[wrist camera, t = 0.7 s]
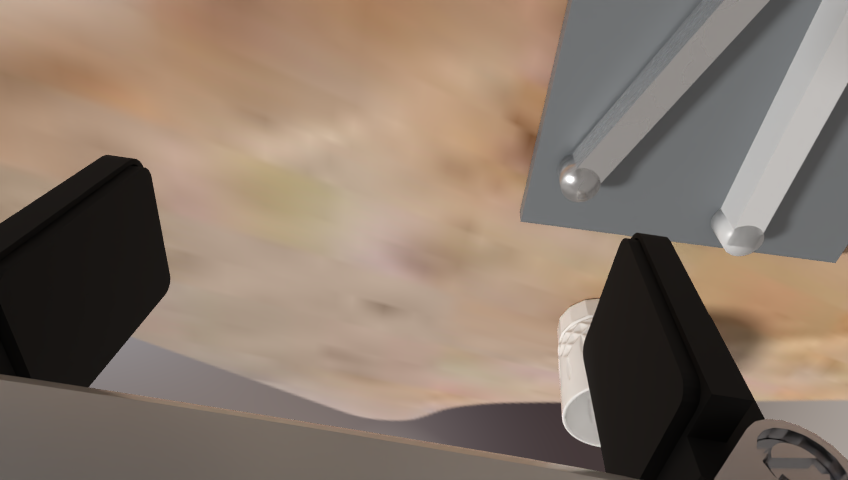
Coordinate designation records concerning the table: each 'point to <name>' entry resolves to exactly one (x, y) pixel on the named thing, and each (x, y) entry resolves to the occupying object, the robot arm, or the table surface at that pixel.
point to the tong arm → (654, 93)
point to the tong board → (707, 131)
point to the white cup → (576, 372)
